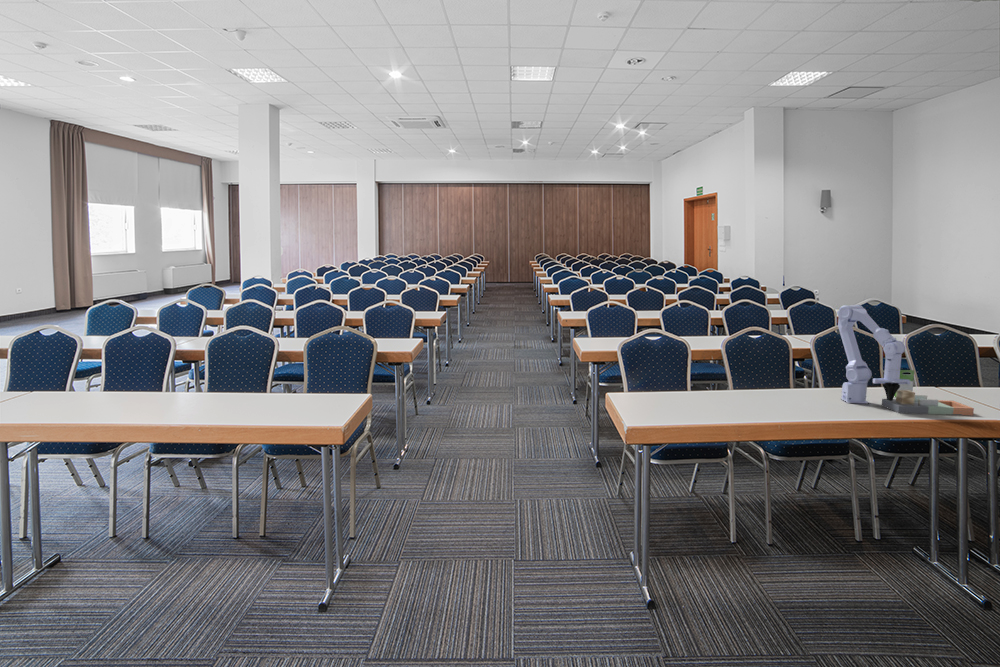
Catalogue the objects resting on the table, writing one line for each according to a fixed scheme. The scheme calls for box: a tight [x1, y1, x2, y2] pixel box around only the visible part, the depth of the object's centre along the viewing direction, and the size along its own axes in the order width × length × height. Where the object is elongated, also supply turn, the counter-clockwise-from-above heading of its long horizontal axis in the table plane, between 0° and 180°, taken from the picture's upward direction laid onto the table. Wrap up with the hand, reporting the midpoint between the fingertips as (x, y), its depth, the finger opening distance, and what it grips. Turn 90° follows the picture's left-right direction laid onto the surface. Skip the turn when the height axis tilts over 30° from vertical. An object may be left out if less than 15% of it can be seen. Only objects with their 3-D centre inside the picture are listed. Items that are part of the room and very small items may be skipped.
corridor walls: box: [914, 394, 940, 406], centre depth 280 cm, size 8×9×2 cm
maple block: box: [895, 390, 916, 404], centre depth 280 cm, size 5×5×5 cm
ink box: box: [894, 369, 915, 398], centre depth 304 cm, size 7×4×13 cm, turn 84°
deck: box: [881, 398, 975, 416], centre depth 280 cm, size 30×14×3 cm, turn 86°
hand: (889, 400), depth 281 cm, fingers closed
